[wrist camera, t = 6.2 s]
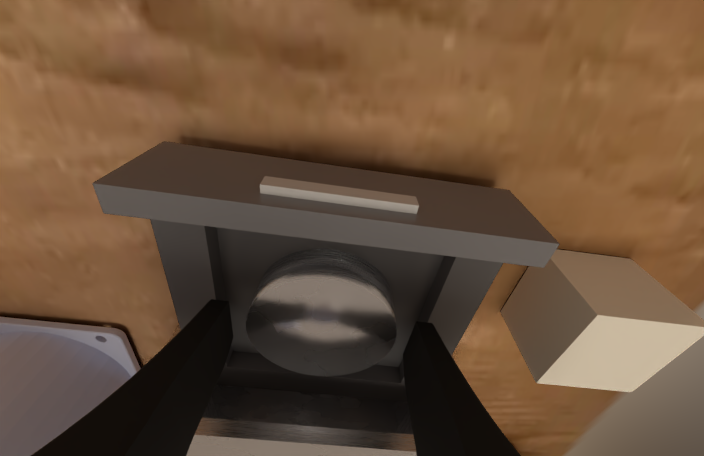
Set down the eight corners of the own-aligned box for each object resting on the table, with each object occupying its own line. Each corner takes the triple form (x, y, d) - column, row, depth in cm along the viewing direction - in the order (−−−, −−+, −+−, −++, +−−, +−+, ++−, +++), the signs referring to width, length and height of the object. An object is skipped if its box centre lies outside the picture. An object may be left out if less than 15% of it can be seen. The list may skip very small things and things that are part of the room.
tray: (208, 354, 15) (179, 417, 13) (161, 133, 9) (88, 173, 7) (419, 374, 16) (430, 437, 14) (512, 183, 10) (565, 235, 7)
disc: (259, 335, 13) (249, 369, 12) (255, 239, 10) (241, 270, 9) (378, 347, 14) (380, 381, 12) (406, 258, 11) (413, 290, 9)
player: (210, 426, 22) (176, 520, 18) (182, 318, 15) (116, 428, 11) (399, 441, 23) (408, 533, 19) (450, 346, 16) (482, 457, 12)
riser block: (500, 311, 15) (536, 382, 12) (540, 247, 12) (597, 315, 9) (577, 320, 15) (631, 391, 12) (630, 258, 13) (712, 328, 10)
